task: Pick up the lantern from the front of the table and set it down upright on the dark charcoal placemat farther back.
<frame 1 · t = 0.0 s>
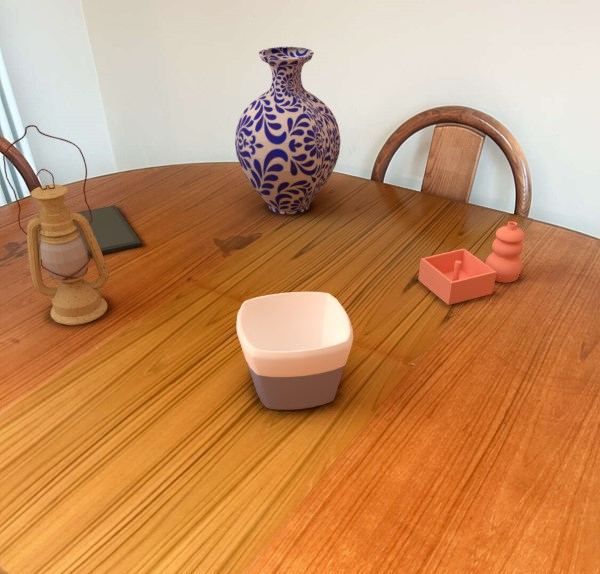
vase: (288, 206, 143), on the table
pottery: (475, 282, 117), on the table
bowl: (294, 386, 94), on the table
lantern: (80, 310, 110), on the table
placemat: (89, 234, 132), on the table
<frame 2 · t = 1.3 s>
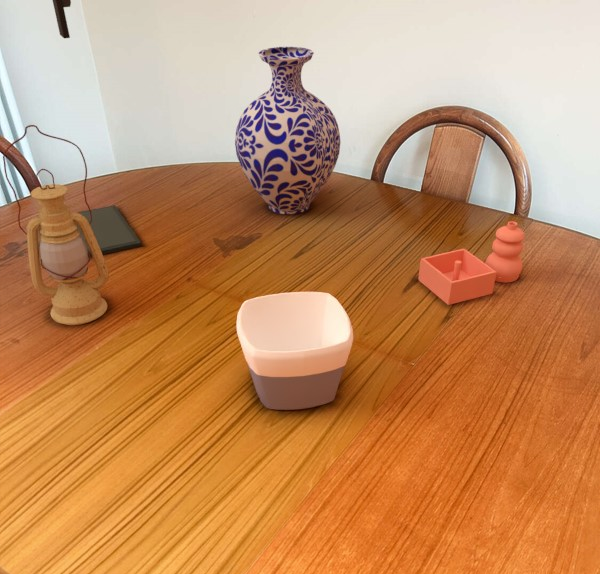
hand: (11, 42, 84), 40 cm above the table, tool pointing down, fingers open, 13 cm apart
nothing on the table moved.
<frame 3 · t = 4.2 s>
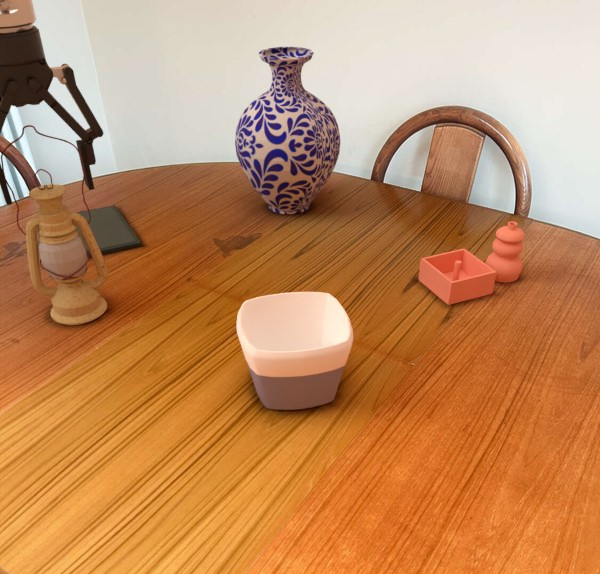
hand: (50, 193, 97), 20 cm above the table, tool pointing down, fingers closed on lantern, 11 cm apart
lantern: (79, 310, 110), on the table, touching gripper
everything else where it was.
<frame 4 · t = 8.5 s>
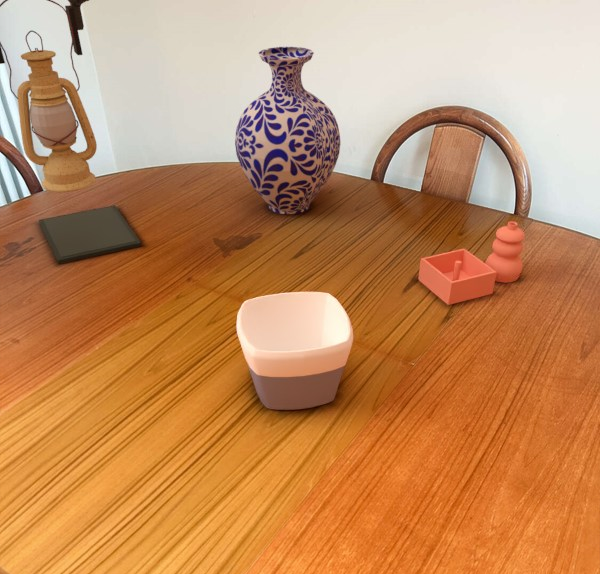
hand: (40, 57, 104), 34 cm above the table, tool pointing down, fingers closed on lantern, 11 cm apart
lantern: (70, 182, 117), point 14 cm above the table, touching gripper
everything else where it was.
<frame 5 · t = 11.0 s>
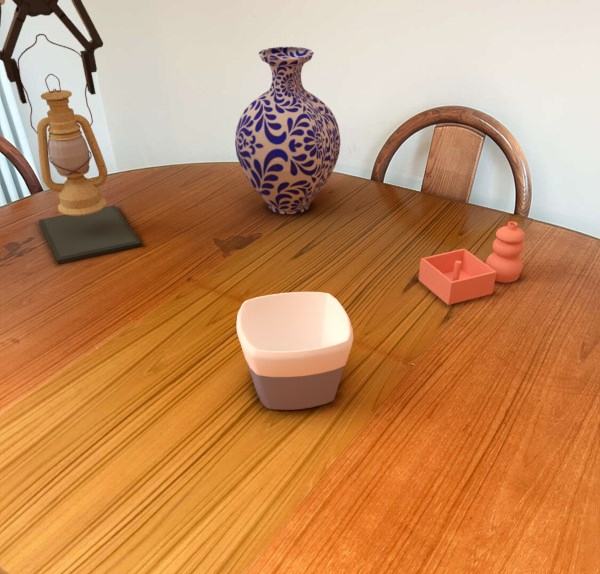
hand: (58, 97, 116), 26 cm above the table, tool pointing down, fingers closed on lantern, 11 cm apart
lantern: (83, 206, 128), point 6 cm above the table, touching gripper
everything else where it was.
when the fingers open (21 cm above the table, at t = 12.9 s): lantern stays where it is, resting on placemat.
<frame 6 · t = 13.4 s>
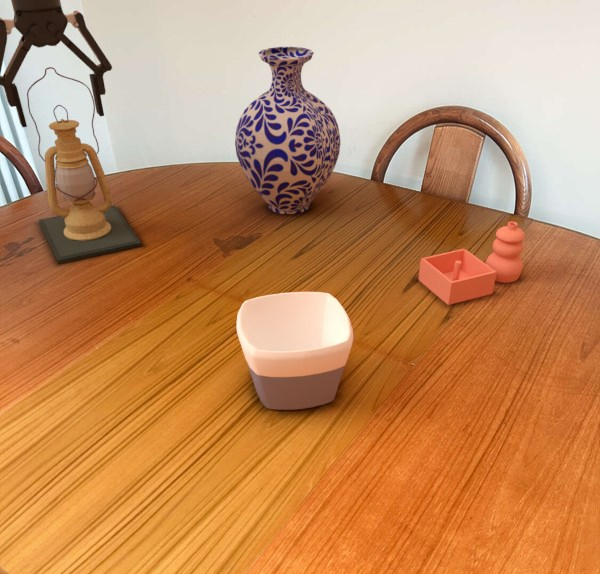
hand: (62, 119, 118), 22 cm above the table, tool pointing down, fingers open, 13 cm apart
lantern: (88, 231, 132), point 1 cm above the table, touching placemat
everything else where it was.
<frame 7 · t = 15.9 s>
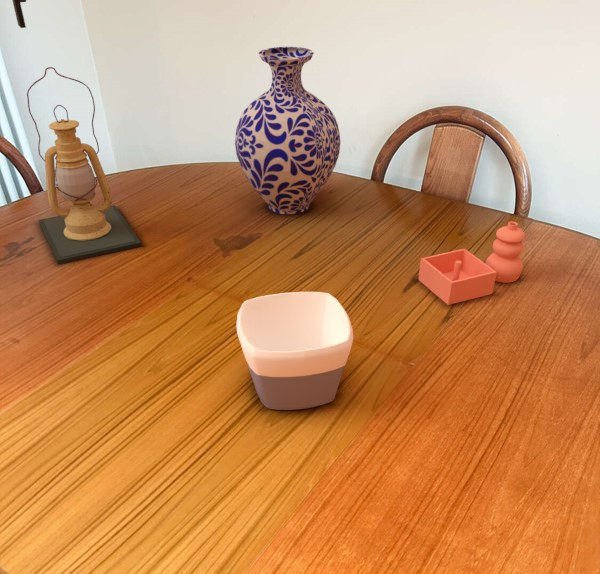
nothing on the table moved.
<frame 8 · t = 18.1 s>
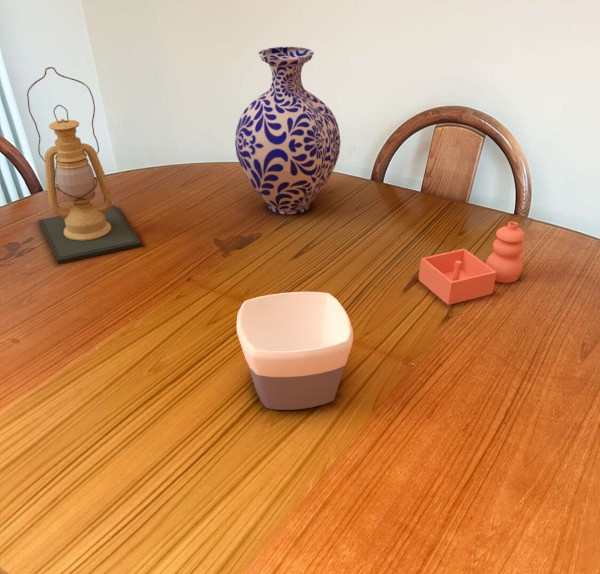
nothing on the table moved.
at the end: lantern inside the target area on the placemat (0.0 cm from its centre), point 0.7 cm above the placemat's base; lantern tilted 0°; the gripper is holding nothing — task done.
